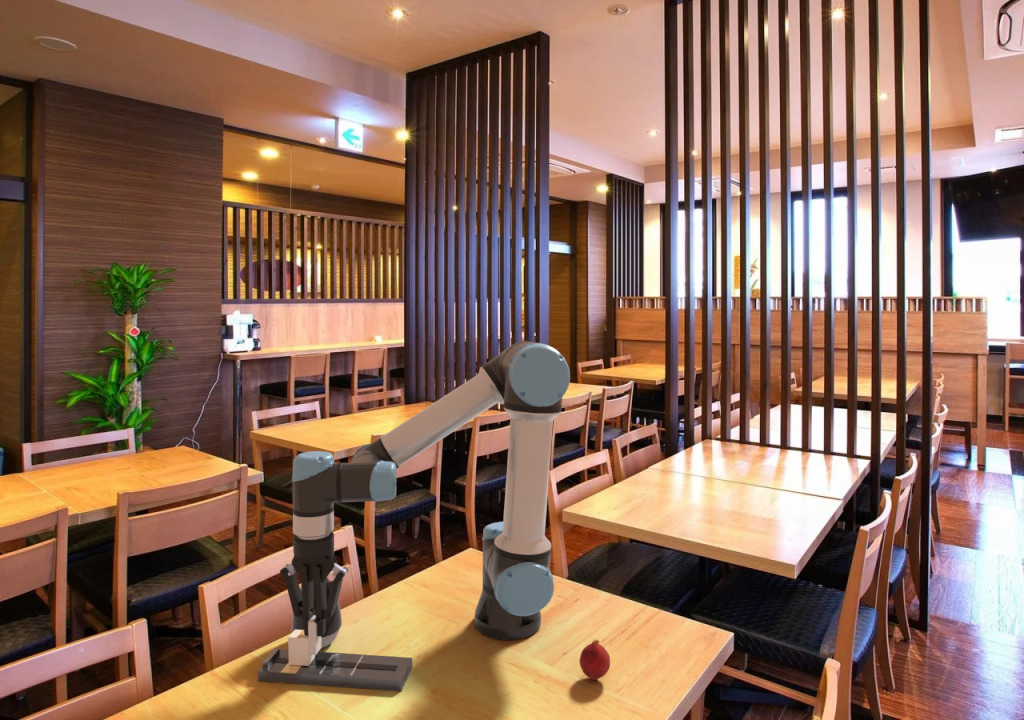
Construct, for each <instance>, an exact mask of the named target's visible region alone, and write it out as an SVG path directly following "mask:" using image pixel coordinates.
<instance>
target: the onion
mask: <svg viewBox="0 0 1024 720" xmlns="http://www.w3.org/2000/svg"><path fill="white" fill-rule="evenodd" d="M609 654H610V653H609V652H608V651H607V650H606V648H605V647H604V646H603V645H602V644H600V640H599V639H598V638H595V639H593V640H592V642H591V643H589V644H588V645H586V646H585V647H584V648H583V649H582V651H581V653H580V655H579V656H580V657H579V666H580V668H581V671H582V673H583V674H584V675H585V676H586V677H587V678H589V679H590V680H593V681H597V680H599V679H601V678H603V677H604V676H605V675H606V674H607V673H608V671H609V670H610V667H611V658H610V655H609Z"/></svg>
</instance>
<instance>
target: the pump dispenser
mask: <svg viewBox="0 0 1024 720" xmlns="http://www.w3.org/2000/svg"><path fill="white" fill-rule="evenodd" d="M332 583H333V580H330V578H329V577H328V576H327V582H326V608H327V604H328V599H329V595H330V591H331V587H332ZM300 591H301V595H302V586H300ZM302 599H303V598H302ZM314 611H315V612H314V614H313V616H314V615H316V605H315V587H314ZM341 611H342V610H341V606H340V601H339V600H338V602H337V606H336V610H335V612H334V614H333V615H332V616H331V618H329V619H326V631H325V633H324V635H323V636H322V637H321V649H323V648H326V647H328V646H329V645H331V644H332V643H333V642H334V641H336V638H337V637H338V635H339V632H340V630H341V627H342V625H343V624H342V623H343V621H342V612H341ZM294 630H304V620H303V618H301V617H295V616H294V614H293V613H292V619H291V633H292V632H293V631H294Z"/></svg>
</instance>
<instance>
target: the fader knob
mask: <svg viewBox="0 0 1024 720" xmlns="http://www.w3.org/2000/svg"><path fill="white" fill-rule="evenodd" d="M287 639H288V641H287V643H288V649H287V650H288V651H289V665H302V666H309V665H310V663H311V662H312V661H313V659H314V658H315V655H311V654H309V643H308V636H305V634H304V630H294V631H293V632H292V631H291V634H290V635H289V636H288V637H287Z"/></svg>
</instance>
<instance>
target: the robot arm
mask: <svg viewBox="0 0 1024 720" xmlns="http://www.w3.org/2000/svg"><path fill="white" fill-rule="evenodd" d="M567 362H568V361H566V359H565V357H564V356H563V355H562V354H561V353H560V352H559V351H558V350H557V349H556V348H555V347H553V346H551V345H548V344H546V343H541V342H535V341H531V340H530V341H529V340H524V341H523V340H522V341H518V342H515V343H514V344H511V345H510V346H509V347H507V348H506V349H504V350H503V351H502V352H500V353H499V354H497V356H495V357H494V358H492V359H491V360H490V361H488V362H486V363H485V364H484V365H482V366H480V367H479V371H478V373H477V374H476V375H475V376H474V377H472V378H470V379H469V380H467V381H466V382H464V383H463V384H461V385H460V386H458V387H456V388H455V389H454V390H452V391H450V392H449V393H447V394H445V395H444V396H442V397H441V398H439V399H438V400H436V401H435V402H433V403H432V404H430V405H429V406H427V407H426V408H423V409H422V410H421V411H420V412H418V413H416V414H414V415H413V416H411V417H409V419H406V420H405V421H404V422H402V423H401V424H400V425H398V426H395V428H393V429H391V430H389V432H387V433H386V434H383V435H382V436H381V437H379V438H378V439H376V440H375V441H373V442H371V443H368V444H364V445H362V446H360V447H359V448H358V449H357V450H356V451H355V453H354V454H353V455H352V457H351V462H335V459H334V455H333V454H332V453H331V452H329V451H321V450H313V451H311V450H310V451H305V452H301V453H299V454H296V456H295V457H294V458H293V459H292V478H291V484H292V485H291V486H292V487H291V488H292V533H293V534H294V535H293V537H292V538H293V539H292V543H293V545H292V547H293V548H292V549H293V550H292V553H293V558H292V559H291V563H287V564H286V565H284V566H283V567H282V568H281V569H280V571H279V574H280V575H281V577H282V578H283V579H284V581H285V586H286V588H287V593H288V597H289V601H290V604H291V608H292V609H291V610H292V615H293V614H294V616H295V617H301V618H303V620H304V634H305V636H308V643H309V654H311V655H316V654H317V653H318V652H320V650H321V649H322V648H321V637H322V636H323V635H324V633H325V631H326V619H329V618H331V616H332V615H333V614H334V612H335V610H336V606H337V602H338V601H339V596H340V593H341V589H342V584H343V580H344V578H345V576H346V575H347V573H348V571H349V568H348V567H346V566H343V567H342V565H341V566H340V565H339V564H338V563H337V559H336V556H335V533H334V532H333V531H334V529H335V515H334V513H335V511H334V510H335V509H334V508H335V506H334V503H357V502H361V503H362V502H374V503H375V502H376V503H378V502H379V503H380V502H383V501H391V500H393V499H395V498H396V496H397V469H399V468H400V467H402V466H403V465H405V464H406V463H407V462H409V461H410V460H412V459H414V458H415V457H418V455H420V454H421V453H422V452H424V451H426V450H427V449H429V448H430V447H432V446H433V445H435V444H436V443H438V442H440V441H441V440H443V439H444V438H447V437H448V436H449V435H450V434H453V432H455V431H456V430H458V429H460V428H461V427H463V426H464V425H465V424H468V423H469V422H470V421H472V420H473V419H476V417H478V416H480V415H481V414H483V413H485V412H486V411H487V410H489V409H490V408H492V407H493V406H495V405H496V404H500V405H503V410H504V411H505V412H506V413H507V414H508V416H509V417H510V423H509V435H508V449H507V451H508V452H507V465H506V479H505V493H504V494H505V496H504V505H503V506H504V509H503V521H498V522H492V523H490V524H488V525H486V526H485V527H484V528H483V530H482V531H483V533H482V538H481V540H482V589H481V593H480V596H479V600H478V602H477V606H476V608H475V611H474V626H475V629H476V630H477V631H478V632H479V633H480V634H481V635H484V636H486V637H488V638H491V639H497V640H507V641H511V640H520V638H521V639H524V637H525V638H527V636H528V637H531V636H532V635H534V634H536V633H537V632H538V631H539V630H540V628H541V626H542V613H541V610H542V609H544V608H545V607H547V605H548V604H549V603H550V602H551V600H552V598H553V595H554V592H555V582H554V577H553V573H552V572H551V570H550V568H551V554H552V542H551V541H550V540H549V539H548V538H547V537H546V535H545V534H546V519H547V507H548V506H547V505H548V494H549V493H548V491H549V481H550V468H551V466H550V465H551V456H552V454H551V452H552V442H553V441H552V439H553V437H552V436H553V427H554V426H553V425H554V423H553V422H554V420H555V419H556V418H557V417H558V416H560V415H561V413H562V407H563V405H562V404H563V397H564V395H565V394H566V393H567V390H568V388H569V386H570V381H571V372H570V367H569V365H568V363H567ZM332 571H333V572H332ZM331 572H332V577H333V579H332V581H333V583H332V587H331V591H330V595H329V599H328V604H327V608H326V582H327V577H328V576H329V575H330V573H331ZM297 574H298V576H299V577H300V578H301V579H300V581H301V582H300V583H299V580H298V576H297ZM300 585H301V586H302V595H301V591H300V588H301V586H300ZM314 587H315V605H316V615H314V616H313V614H314V612H315V611H314ZM302 598H303V599H302ZM540 625H541V626H540ZM538 629H539V630H538ZM537 630H538V631H537ZM536 631H537V632H536ZM535 632H536V633H535ZM533 633H534V634H533ZM531 634H532V635H531Z"/></svg>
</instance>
